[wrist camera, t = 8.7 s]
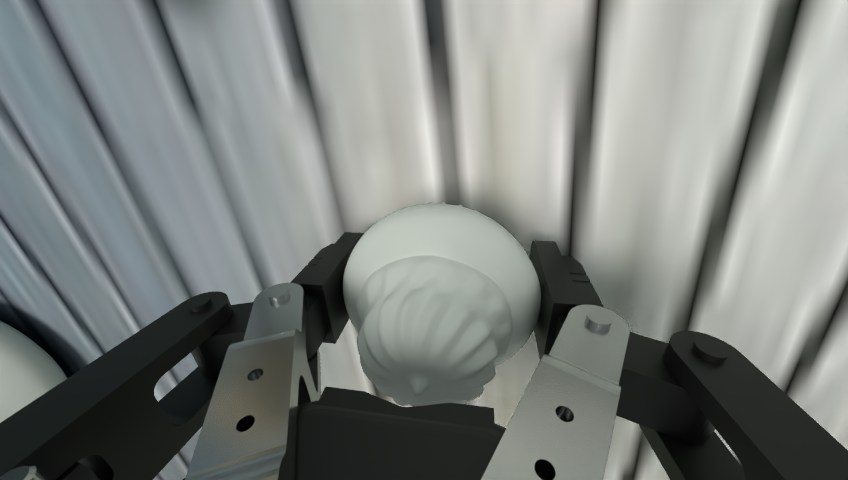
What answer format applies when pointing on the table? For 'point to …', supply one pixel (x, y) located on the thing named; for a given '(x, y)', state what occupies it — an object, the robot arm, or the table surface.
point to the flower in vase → (23, 371)
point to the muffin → (438, 302)
